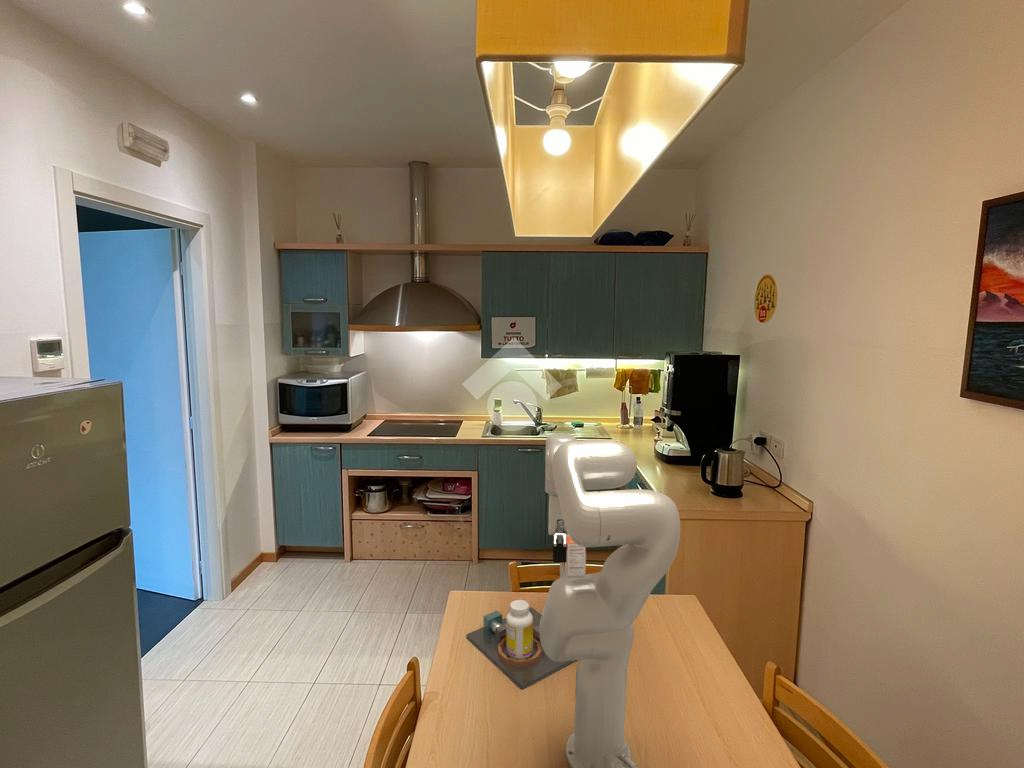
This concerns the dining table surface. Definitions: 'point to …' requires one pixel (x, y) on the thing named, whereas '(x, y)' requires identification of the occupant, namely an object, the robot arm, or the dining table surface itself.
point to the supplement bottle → (519, 630)
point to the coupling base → (494, 649)
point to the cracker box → (573, 559)
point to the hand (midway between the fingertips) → (559, 552)
